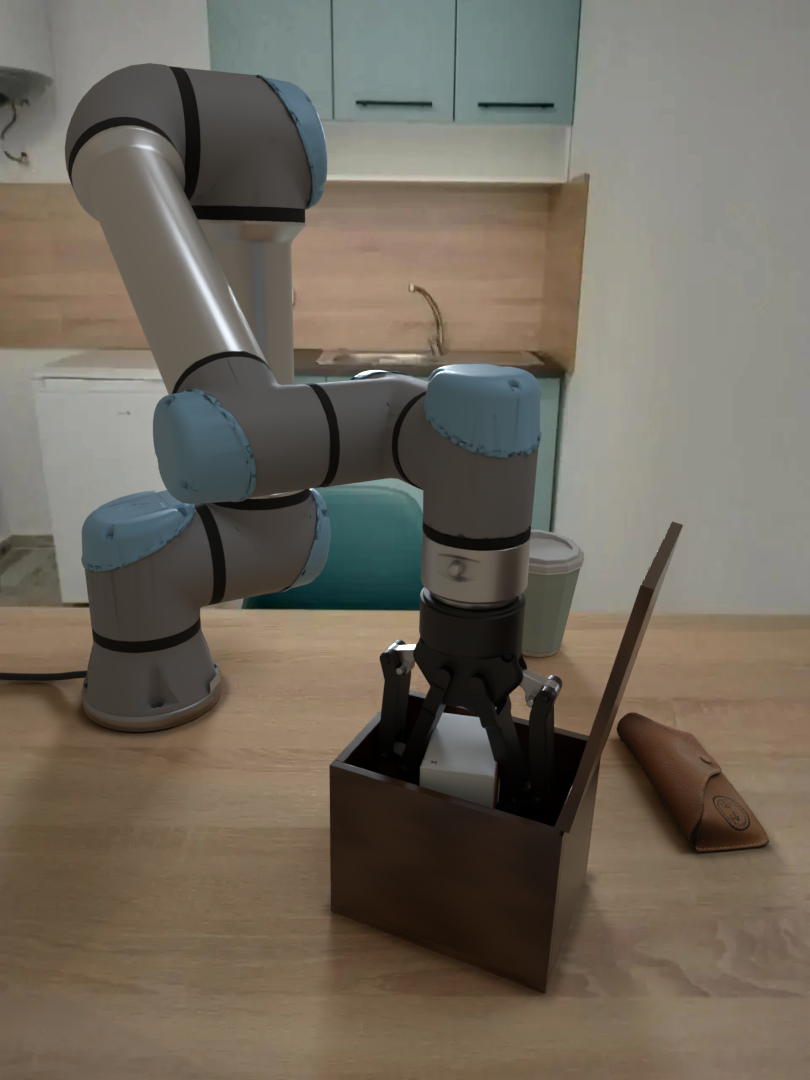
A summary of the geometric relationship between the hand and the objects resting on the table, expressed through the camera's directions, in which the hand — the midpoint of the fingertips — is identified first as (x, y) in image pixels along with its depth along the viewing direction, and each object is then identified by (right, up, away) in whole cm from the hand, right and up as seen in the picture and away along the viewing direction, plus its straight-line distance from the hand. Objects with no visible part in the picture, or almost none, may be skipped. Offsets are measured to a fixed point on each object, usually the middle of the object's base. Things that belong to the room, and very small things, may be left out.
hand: (458, 851), depth 67 cm
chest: (0, -4, +1) cm, 4 cm away
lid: (+10, +16, -11) cm, 22 cm away
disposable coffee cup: (+13, +11, +43) cm, 46 cm away
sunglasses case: (+24, 0, +15) cm, 28 cm away
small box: (0, 0, 0) cm, 0 cm away
